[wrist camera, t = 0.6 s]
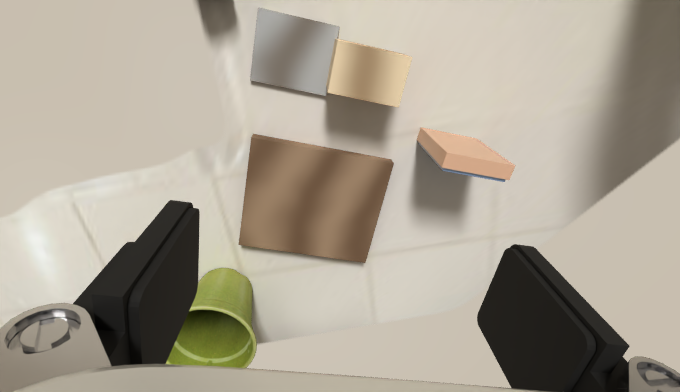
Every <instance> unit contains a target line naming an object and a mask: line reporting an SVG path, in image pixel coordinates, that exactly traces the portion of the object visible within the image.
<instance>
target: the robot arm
mask: <svg viewBox="0 0 680 392" xmlns="http://www.w3.org/2000/svg"><path fill="white" fill-rule="evenodd" d="M198 258H199V209H196V208H193V205H192V203H189V202H181V201H173V200H170V201H169V202H168V203H167V204H166V205H165V207H164V208H163V209H162V210H161V211H160V213H159V214H158V215H157V216H156V217H155V219H154V220H153V221H152V222H151V223H150V225H149V226H148V227H147V228H146V229H145V231H144V232H143V233H142V234H141V235H140V237H139V238H138V239H137V240H136V241H135V242H127V243H126V244H125V245H124V246H123V247H122V248H121V249H120V250H119V252H118V253H117V254H116V255H115V256H114V257H113V258H112V260H111V261H110V262H109V263H108V264H107V265H106V266H105V268H104V269H103V270H102V271H101V272H100V273H99V274H98V276H97V277H96V278H95V279H94V280H93V281H92V283H91V284H90V285H89V286H88V287H87V288H86V289H85V291H84V292H83V293H82V294H81V295H80V296H79V297H78V299H77V300H76V301H75V302H74V303H73V304H68V303H57V304H49V305H44V306H39V307H36V308H33V309H31V310H28V311H25V312H23V313H21V314H20V315H18V316H16V317H14V318H12V319H11V320H10V321H8V322H7V323H6V324H5V325H4V326H3V327H1V328H0V392H680V374H679V373H678V372H676V371H675V370H673V369H671V368H670V367H668V366H666V365H664V364H662V363H660V362H658V361H655V360H653V359H650V358H646V357H634V358H631V359H630V360H629V362H627V361H626V360H625V359H624V358H623V357H622V356H623V355H624V353H625V352H626V350H627V349H628V348H629V345H628V344H627V343H626V342H625V341H624V340H623V339H622V338H621V337H620V336H619V335H618V334H617V332H615V331H614V329H613V328H612V327H611V326H610V325H609V324H608V323H607V322H606V321H605V320H604V319H603V318H602V317H601V316H600V315H599V314H598V313H597V312H596V311H595V310H594V309H593V308H592V307H591V306H590V304H589V303H588V302H586V300H585V299H584V298H583V297H582V296H581V295H580V294H579V293H578V292H577V291H576V290H575V289H574V288H573V287H572V286H571V285H570V284H569V283H568V282H567V281H566V280H565V279H564V278H563V276H562V275H561V274H560V273H559V272H558V271H557V270H556V269H555V268H554V267H553V266H552V265H551V264H550V263H549V262H548V261H547V260H546V259H545V258H544V257H543V256H542V255H541V254H540V253H539V252H538V251H537V249H536V248H534V247H531V246H524V245H516V244H514V245H512V246H511V247H510V248H508V249H506V250H505V251H504V253H503V256H502V258H501V261H500V263H499V265H498V268H497V270H496V272H495V275H494V277H493V279H492V282H491V284H490V286H489V289H488V291H487V293H486V296H485V298H484V301H483V303H482V305H481V308H480V310H479V312H478V317H477V321H478V325H479V327H480V329H481V331H482V333H483V335H484V337H485V338H486V340H487V342H488V344H489V346H490V348H491V350H492V352H493V353H494V356H495V357H496V359H497V361H498V363H499V365H500V367H501V368H502V371H503V373H504V374H505V376H506V378H507V380H508V382H509V384H510V386H511V388H501V387H488V386H476V385H464V384H451V383H438V382H424V381H413V380H399V379H386V378H372V377H360V376H346V375H332V374H318V373H304V372H303V373H302V372H290V371H276V370H263V369H249V368H235V367H221V366H200V365H174V364H166V362H167V360H168V357H169V355H170V353H171V351H172V348H173V346H174V344H175V342H176V339H177V337H178V335H179V333H180V330H181V328H182V326H183V324H184V321H185V319H186V317H187V315H188V313H189V310H190V308H191V306H192V304H193V301H194V299H195V297H196V293H197V288H198Z"/></svg>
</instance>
